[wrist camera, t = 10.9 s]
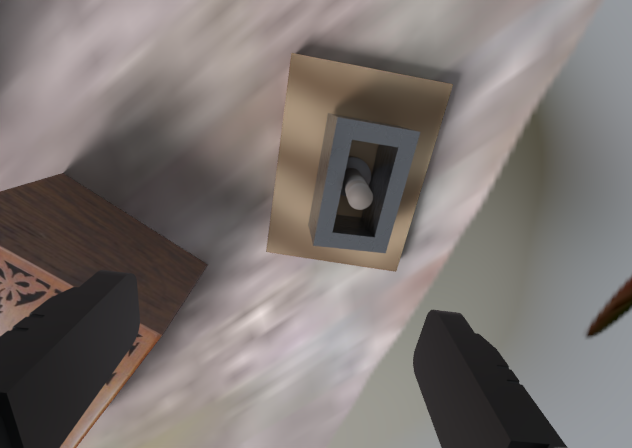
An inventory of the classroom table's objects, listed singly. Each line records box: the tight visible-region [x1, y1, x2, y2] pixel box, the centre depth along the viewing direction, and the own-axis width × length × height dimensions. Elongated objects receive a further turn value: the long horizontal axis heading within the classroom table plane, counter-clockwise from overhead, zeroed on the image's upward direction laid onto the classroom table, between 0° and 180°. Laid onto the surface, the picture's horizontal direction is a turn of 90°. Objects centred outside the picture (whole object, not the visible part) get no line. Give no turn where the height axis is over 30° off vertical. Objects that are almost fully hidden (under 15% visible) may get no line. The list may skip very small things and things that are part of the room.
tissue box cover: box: [0, 173, 207, 448], centre depth 28 cm, size 26×14×10 cm, turn 142°
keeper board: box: [266, 53, 453, 272], centre depth 24 cm, size 16×12×8 cm
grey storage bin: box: [308, 113, 420, 253], centre depth 24 cm, size 9×6×4 cm, turn 170°
